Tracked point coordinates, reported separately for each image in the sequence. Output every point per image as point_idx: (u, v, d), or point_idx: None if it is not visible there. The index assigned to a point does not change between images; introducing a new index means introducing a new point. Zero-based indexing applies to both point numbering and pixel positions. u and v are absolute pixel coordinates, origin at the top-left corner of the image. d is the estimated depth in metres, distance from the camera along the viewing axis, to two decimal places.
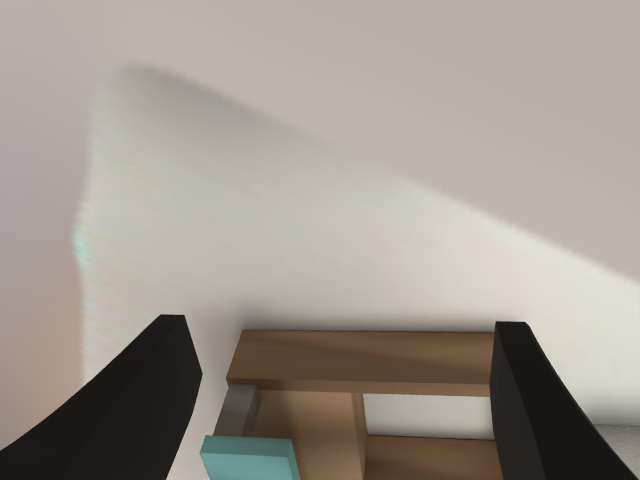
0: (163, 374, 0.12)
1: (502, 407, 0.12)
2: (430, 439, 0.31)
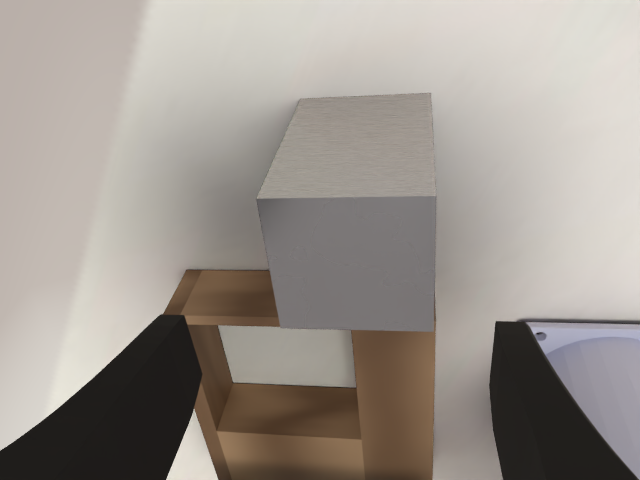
0: (163, 374, 0.12)
1: (502, 407, 0.12)
2: None
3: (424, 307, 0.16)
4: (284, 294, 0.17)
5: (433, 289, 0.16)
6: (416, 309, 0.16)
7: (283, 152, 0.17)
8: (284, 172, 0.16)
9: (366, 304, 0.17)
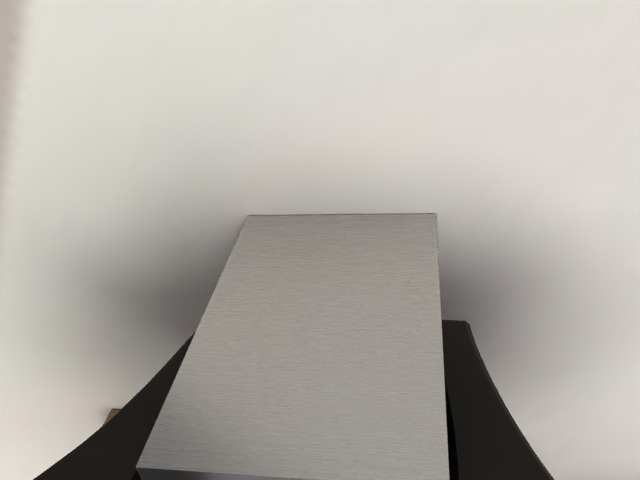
0: None
1: None
2: None
3: None
4: None
5: None
6: None
7: (202, 340, 0.11)
8: (195, 393, 0.10)
9: None
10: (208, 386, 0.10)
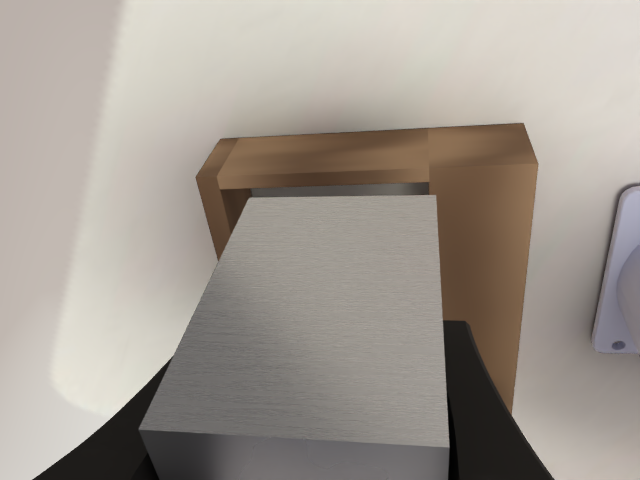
0: None
1: None
2: None
3: None
4: None
5: None
6: None
7: (205, 312, 0.11)
8: (197, 362, 0.10)
9: None
10: (210, 354, 0.10)
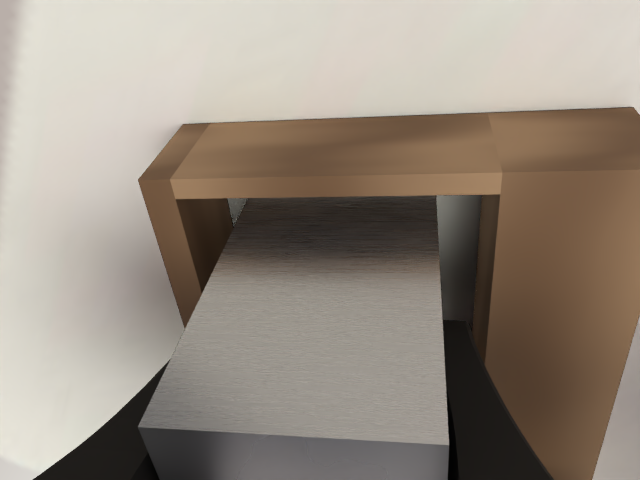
0: None
1: None
2: (478, 253, 0.16)
3: None
4: None
5: None
6: None
7: (204, 310, 0.11)
8: (197, 359, 0.10)
9: None
10: (210, 352, 0.10)
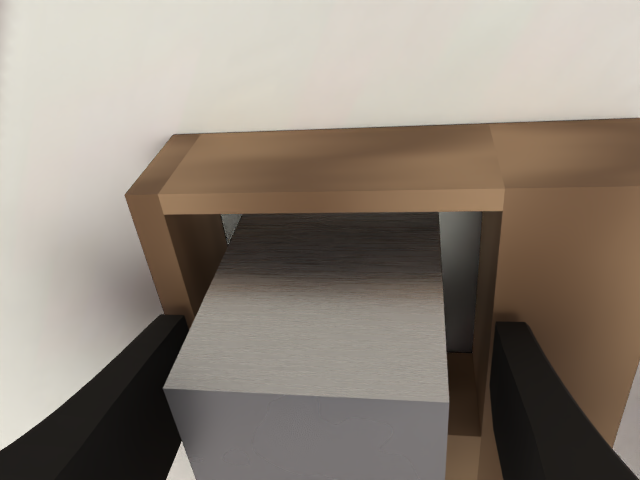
0: (163, 374, 0.12)
1: (502, 407, 0.12)
2: (479, 267, 0.16)
3: None
4: None
5: None
6: None
7: (220, 285, 0.12)
8: (215, 329, 0.11)
9: None
10: (227, 322, 0.11)
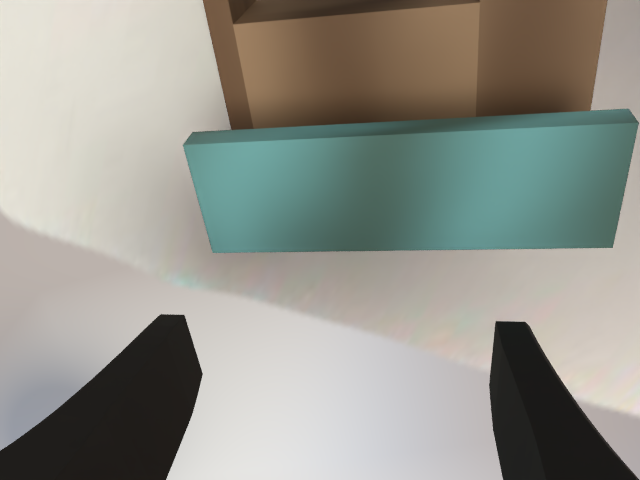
0: (163, 374, 0.12)
1: (502, 407, 0.12)
2: None
3: None
4: None
5: None
6: None
7: None
8: None
9: None
10: None
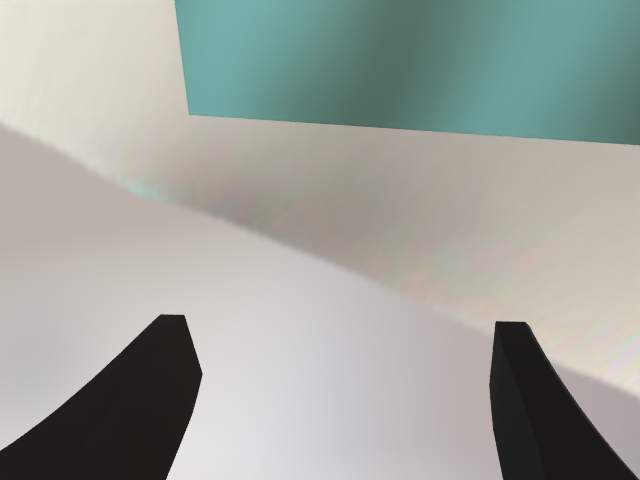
0: (163, 374, 0.12)
1: (502, 407, 0.12)
2: None
3: None
4: None
5: None
6: None
7: None
8: None
9: None
10: None
